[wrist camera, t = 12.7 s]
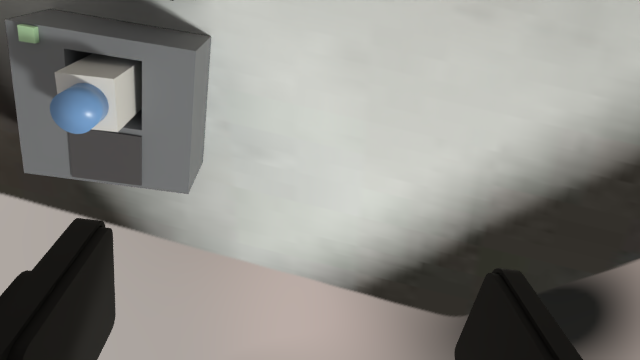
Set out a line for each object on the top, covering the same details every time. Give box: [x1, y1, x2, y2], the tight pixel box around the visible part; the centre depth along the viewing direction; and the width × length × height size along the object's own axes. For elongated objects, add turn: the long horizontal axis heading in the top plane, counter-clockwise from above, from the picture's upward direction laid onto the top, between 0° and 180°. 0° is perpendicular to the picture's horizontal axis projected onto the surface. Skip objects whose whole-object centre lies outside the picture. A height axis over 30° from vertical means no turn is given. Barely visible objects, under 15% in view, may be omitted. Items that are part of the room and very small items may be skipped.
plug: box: [50, 53, 142, 134], centre depth 31 cm, size 4×4×10 cm
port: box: [5, 9, 211, 194], centre depth 34 cm, size 12×11×6 cm
